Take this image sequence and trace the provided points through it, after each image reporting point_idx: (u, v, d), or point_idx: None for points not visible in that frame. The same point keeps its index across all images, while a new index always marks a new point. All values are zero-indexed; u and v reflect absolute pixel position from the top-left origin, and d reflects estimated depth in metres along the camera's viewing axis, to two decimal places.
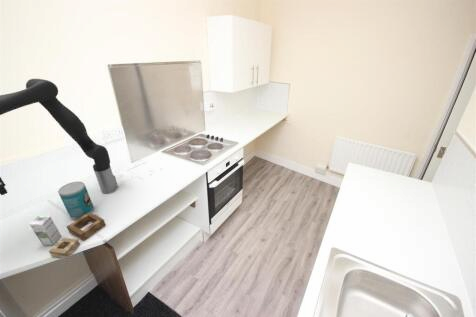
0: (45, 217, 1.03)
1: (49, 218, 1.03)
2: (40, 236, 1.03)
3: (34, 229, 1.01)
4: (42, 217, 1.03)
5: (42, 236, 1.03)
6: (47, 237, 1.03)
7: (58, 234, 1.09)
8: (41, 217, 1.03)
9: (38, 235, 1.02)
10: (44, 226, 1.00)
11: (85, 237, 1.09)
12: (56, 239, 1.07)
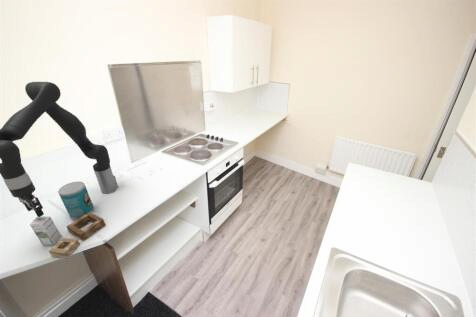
0: (45, 217, 1.03)
1: (49, 218, 1.03)
2: (40, 236, 1.03)
3: (34, 229, 1.01)
4: (42, 217, 1.03)
5: (42, 236, 1.03)
6: (47, 237, 1.03)
7: (58, 234, 1.09)
8: (41, 217, 1.03)
9: (38, 235, 1.02)
10: (44, 226, 1.00)
11: (85, 237, 1.09)
12: (56, 239, 1.07)
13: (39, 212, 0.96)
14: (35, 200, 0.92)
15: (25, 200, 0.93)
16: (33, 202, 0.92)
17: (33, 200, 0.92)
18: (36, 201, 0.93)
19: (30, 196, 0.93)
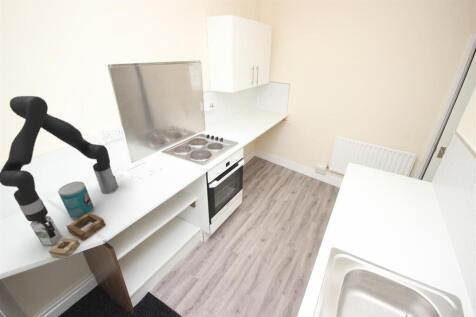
0: (45, 217, 1.03)
1: (49, 218, 1.03)
2: (40, 236, 1.03)
3: (34, 229, 1.01)
4: None
5: (42, 236, 1.03)
6: (47, 237, 1.03)
7: (58, 234, 1.09)
8: None
9: (38, 235, 1.02)
10: None
11: (85, 237, 1.09)
12: (56, 239, 1.07)
13: (51, 234, 1.03)
14: (48, 224, 0.99)
15: None
16: (46, 226, 0.98)
17: (46, 224, 0.98)
18: (49, 224, 0.99)
19: (43, 219, 1.00)
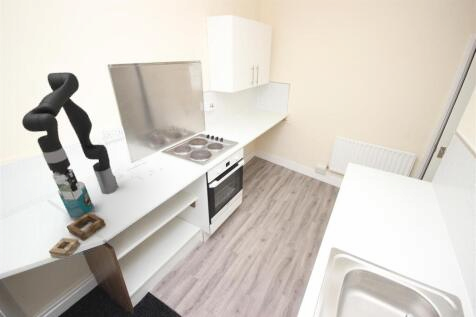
0: None
1: (71, 171, 1.00)
2: (62, 189, 1.00)
3: (56, 181, 0.97)
4: None
5: (64, 189, 0.99)
6: (69, 190, 1.00)
7: (79, 190, 1.06)
8: None
9: (60, 188, 0.99)
10: (66, 178, 0.97)
11: (85, 237, 1.09)
12: (77, 194, 1.04)
13: (74, 187, 1.00)
14: (71, 174, 0.96)
15: None
16: (70, 176, 0.95)
17: (70, 174, 0.95)
18: (72, 175, 0.96)
19: (66, 170, 0.96)
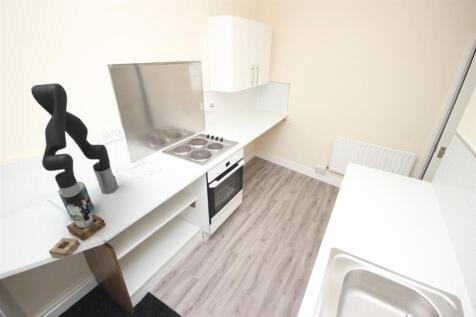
0: None
1: (84, 202, 1.09)
2: (75, 219, 1.08)
3: (70, 212, 1.06)
4: None
5: (77, 219, 1.08)
6: (82, 220, 1.09)
7: (91, 218, 1.14)
8: None
9: (74, 218, 1.08)
10: (80, 209, 1.06)
11: (85, 237, 1.09)
12: (89, 223, 1.13)
13: (86, 217, 1.08)
14: (85, 206, 1.05)
15: None
16: (83, 208, 1.04)
17: (83, 206, 1.04)
18: (85, 207, 1.05)
19: (80, 202, 1.05)
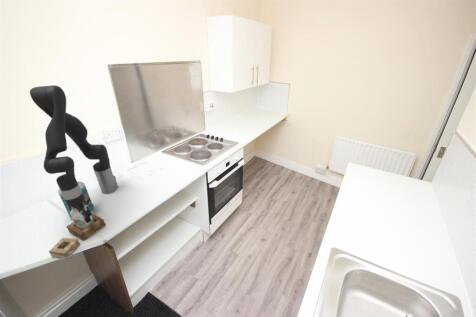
0: None
1: None
2: (78, 224, 1.10)
3: (73, 217, 1.08)
4: None
5: (79, 223, 1.10)
6: (84, 225, 1.10)
7: None
8: None
9: (76, 223, 1.10)
10: (82, 215, 1.07)
11: (85, 237, 1.09)
12: None
13: (88, 219, 1.09)
14: (86, 208, 1.05)
15: (77, 208, 1.06)
16: (84, 210, 1.05)
17: (84, 208, 1.05)
18: (86, 209, 1.06)
19: (81, 205, 1.06)
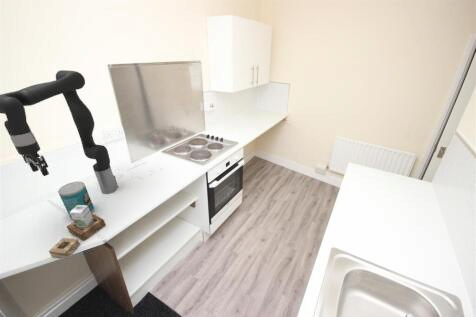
0: (83, 206, 1.10)
1: (86, 207, 1.10)
2: (78, 224, 1.10)
3: (73, 217, 1.08)
4: (80, 206, 1.10)
5: (79, 223, 1.10)
6: (84, 225, 1.10)
7: None
8: (79, 206, 1.10)
9: (76, 223, 1.10)
10: (82, 215, 1.07)
11: (85, 237, 1.09)
12: None
13: (44, 171, 1.00)
14: (41, 158, 0.96)
15: (31, 158, 0.97)
16: (39, 160, 0.96)
17: (39, 158, 0.96)
18: (42, 159, 0.97)
19: (36, 154, 0.97)
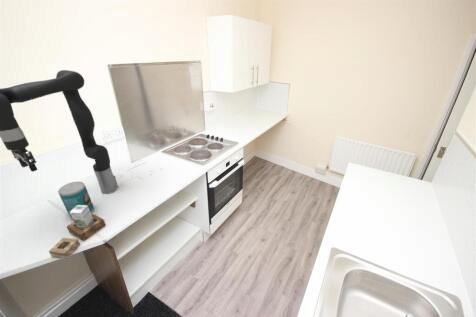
0: (83, 206, 1.10)
1: (86, 207, 1.10)
2: (78, 224, 1.10)
3: (73, 217, 1.08)
4: (80, 206, 1.10)
5: (79, 223, 1.10)
6: (84, 225, 1.10)
7: None
8: (79, 206, 1.10)
9: (76, 223, 1.10)
10: (82, 215, 1.07)
11: (85, 237, 1.09)
12: None
13: (32, 166, 1.01)
14: (28, 153, 0.97)
15: (19, 154, 0.98)
16: (26, 155, 0.97)
17: (26, 153, 0.97)
18: (29, 155, 0.98)
19: (24, 150, 0.98)
